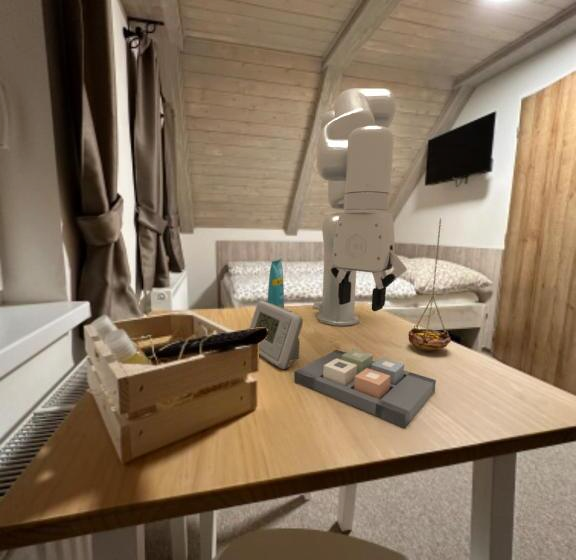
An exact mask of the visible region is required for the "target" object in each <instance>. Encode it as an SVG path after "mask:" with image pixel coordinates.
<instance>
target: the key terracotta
mask: <svg viewBox="0 0 576 560" xmlns="http://www.w3.org/2000/svg"><path fill="white" fill-rule="evenodd" d="M390 378H391V376H390V375H387V374H384V373H381V372H377V371H374V370H371V369H368V368H366V369H365V370H363V371H362V372H360V373H359V374H358V375H356V376H355V381H354V390H356V391H359V392H361V393H364V394H367V395H369V396H372V397H374V398H377V399H380V398H381V397H383V396H384V395H385V394H386V393H387V392H388V391H389V390H390Z"/></svg>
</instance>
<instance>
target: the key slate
mask: <svg viewBox="0 0 576 560" xmlns="http://www.w3.org/2000/svg"><path fill="white" fill-rule="evenodd" d="M371 370H374V371H377V372H381V373H384V374H387V375H390V376H391V378H390V384H393V385H396V384H397V383H398V382H399V381H400V380H401V379H402V378H403V375H404V370H405V364H404V363H402V362H398V361H396V360H395V361H394V360H391V359H388V358H384V357H380V358H379V359H378V360H376V361H375V363H373V364H372V366H371Z"/></svg>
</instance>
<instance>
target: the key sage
mask: <svg viewBox="0 0 576 560" xmlns="http://www.w3.org/2000/svg"><path fill="white" fill-rule="evenodd" d="M373 357H374V355H373V354H370V353H367V352H365V351H360V350H357V349H350V350H349V351H347V352H346V353H345V354H343V355H342V360H344V361H347V362H350V363H353V364H356V365H357V372H358V373H360V372H362V371H363V370H365V369H366V368H368V369H370V368H371V366H372V361H373Z"/></svg>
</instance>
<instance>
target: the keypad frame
mask: <svg viewBox="0 0 576 560" xmlns="http://www.w3.org/2000/svg"><path fill="white" fill-rule="evenodd" d="M345 353H347V352H345V351H341V350H339V349H335V350H333V351H330V352H329V353H327V354H325V355H323V356H321V357H319V358H317V359H315V360H313V361H312V362H310V363H308V364H305V365H303V366H302V367H299V368H298V369H296V370H294V373H293V378H294V379H293V382H295V383H297V384H299V385H301V386H304V387H306V388H308V389H310V390H313V391H316V392H318V393H320V394H322V395H325V396H327V397H329V398H331V399H334V400H337V401H340V402H341V403H344V404H346V405H348V406H351V407H353V408H355V409H358V410H360V411H363V412H365V413H367V414H370V415H373V416H374V417H377V418H380V419H381V420H384V421H387V422H389V423H391V424H394V425H395V426H399V427H401V428H403V429H406V428H407V426H408V425H409V424H410V422H412V420H413V419H414V417H415V416H416V415H417V414H418V413H419V412H420V410H421V409H422V407H423V406H424V405H425V404H426V402H427V401H428V400H429V399H430V397H432V395H433V393H434V392H435V391H436V383H437V380H436V379H433V378H431V377H428V376H424V375H420V374H417V373H413V372H411V371H407V370H405V369H404V375H403V378H402V379H401V380H400V381H399V382H398V383H397V384H396V385H393V384H390V390H389V391H388V392H387V393H386V394H385V395H384V396H383V397H381V398H380V399H377V398H374V397H372V396H369V395H367V394H364V393H361V392H359V391H356V390H354V381H355V380H354V381H352V382H351V383H349V384H348V385H347V386H343V385H340V384H338V383H335V382H333V381H330V380H327V379H325V378H323V370H324V365H325V364H327V363H329V362H331V361H333V360H334V359H336V358H337V359H341V360H342V355H343V354H345ZM375 362H376V361H374V360H372V364H373V363H375ZM370 369H371V368H370ZM358 374H359V373H358V372H357V375H358Z"/></svg>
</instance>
